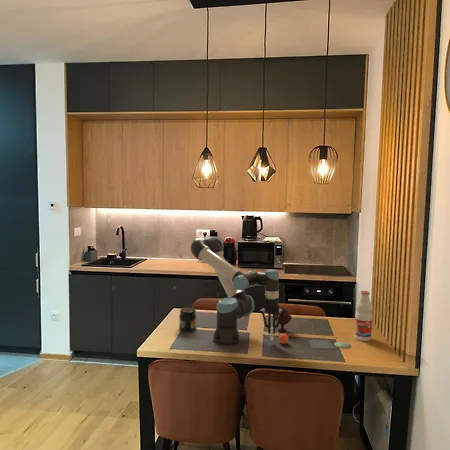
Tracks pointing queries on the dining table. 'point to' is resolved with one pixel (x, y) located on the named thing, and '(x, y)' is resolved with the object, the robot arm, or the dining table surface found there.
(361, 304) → the fruit juice
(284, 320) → the ice cream bowl
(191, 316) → the supplement container
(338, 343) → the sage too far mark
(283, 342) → the ball
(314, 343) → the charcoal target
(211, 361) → the dining table surface
